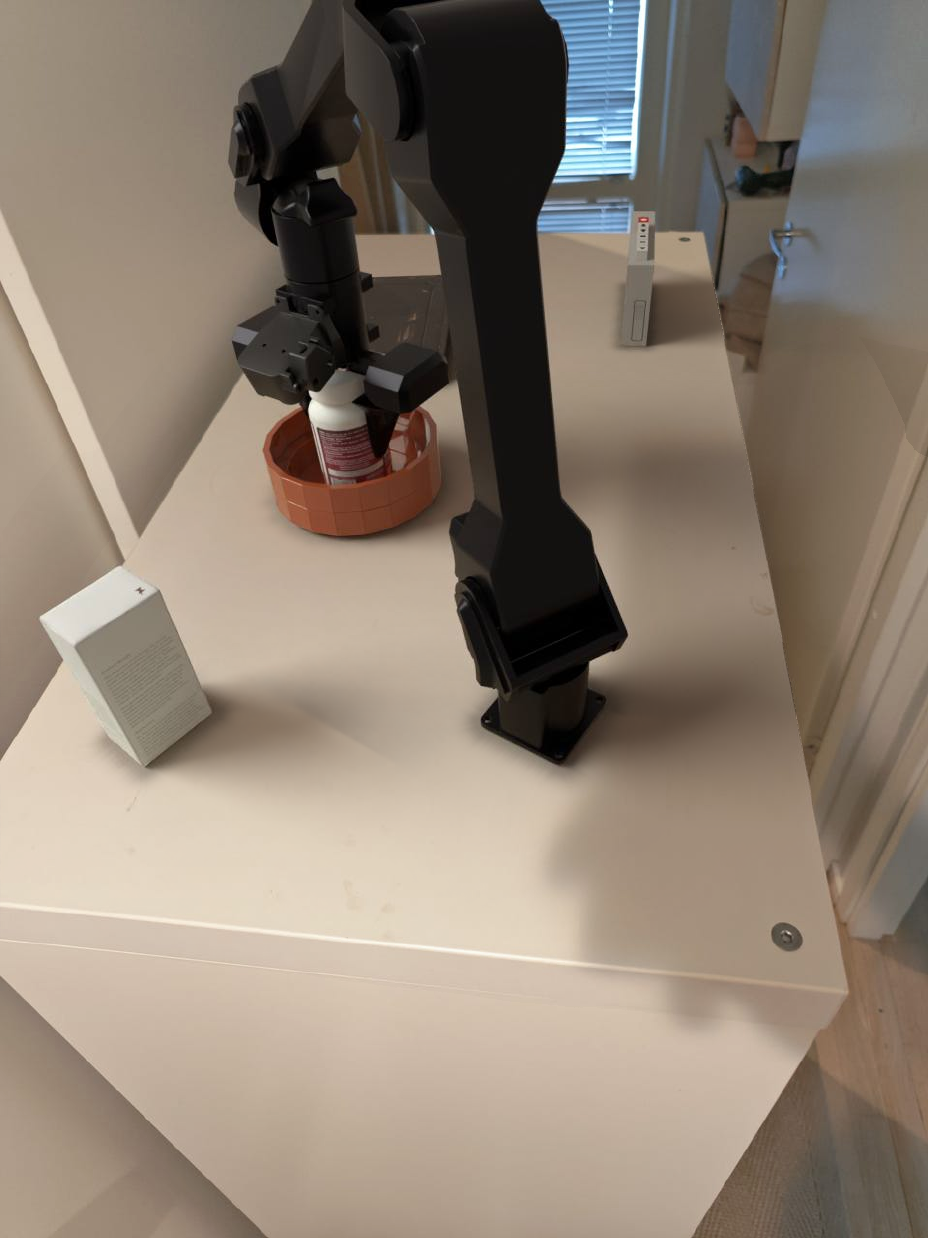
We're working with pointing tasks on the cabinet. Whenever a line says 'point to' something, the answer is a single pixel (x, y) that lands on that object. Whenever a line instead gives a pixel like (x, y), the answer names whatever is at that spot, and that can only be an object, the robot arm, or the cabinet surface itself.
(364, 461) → the pill bottle
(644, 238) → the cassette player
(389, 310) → the hardcover book
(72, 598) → the cosmetic box
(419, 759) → the cabinet surface
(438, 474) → the bowl
